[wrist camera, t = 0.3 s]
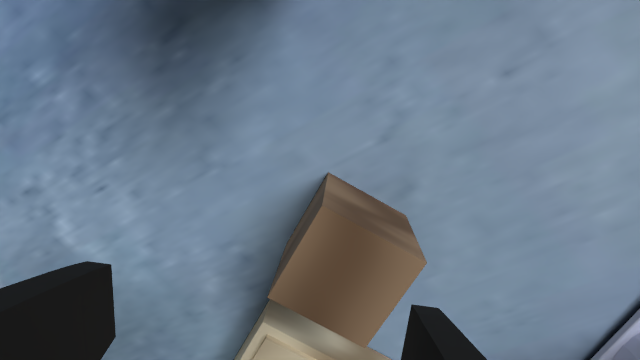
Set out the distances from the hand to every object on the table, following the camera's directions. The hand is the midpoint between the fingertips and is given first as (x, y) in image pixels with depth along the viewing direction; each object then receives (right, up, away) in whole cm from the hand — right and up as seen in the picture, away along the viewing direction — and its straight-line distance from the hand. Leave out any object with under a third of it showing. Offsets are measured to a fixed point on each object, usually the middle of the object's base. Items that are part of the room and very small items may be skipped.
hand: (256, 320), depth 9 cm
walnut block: (+3, +1, +10) cm, 11 cm away
